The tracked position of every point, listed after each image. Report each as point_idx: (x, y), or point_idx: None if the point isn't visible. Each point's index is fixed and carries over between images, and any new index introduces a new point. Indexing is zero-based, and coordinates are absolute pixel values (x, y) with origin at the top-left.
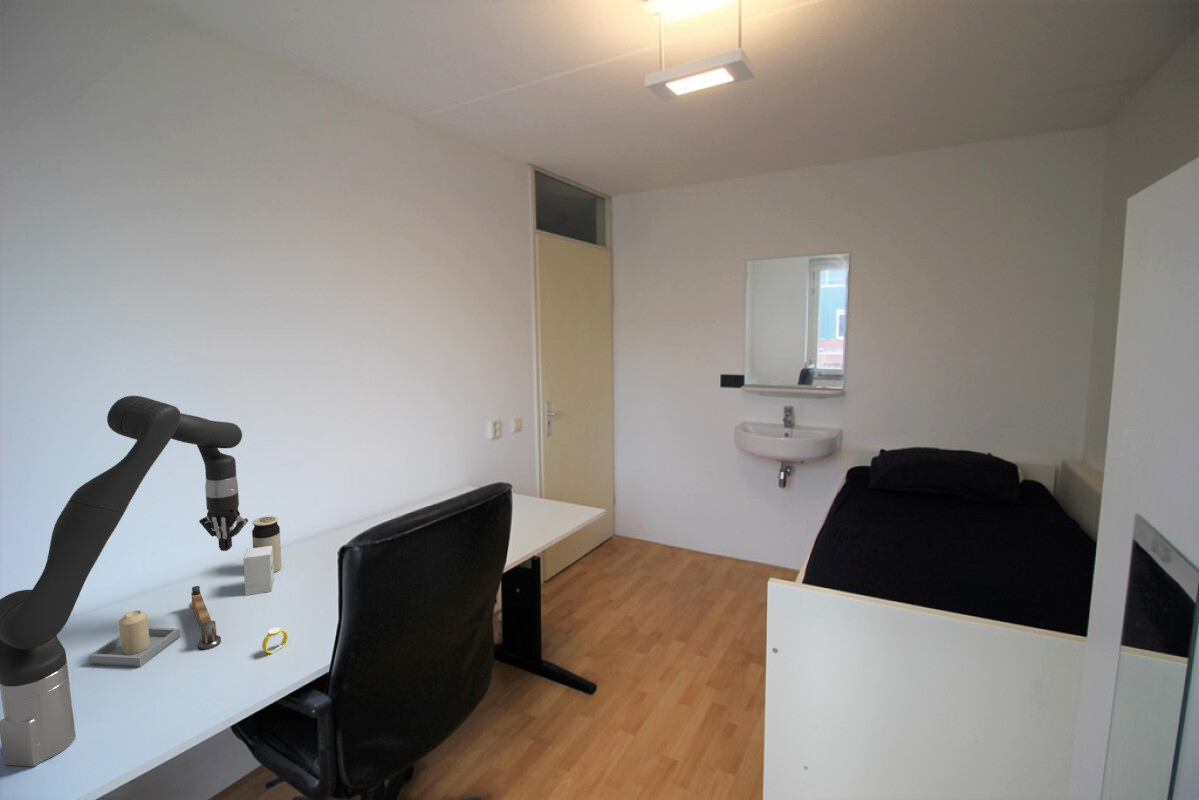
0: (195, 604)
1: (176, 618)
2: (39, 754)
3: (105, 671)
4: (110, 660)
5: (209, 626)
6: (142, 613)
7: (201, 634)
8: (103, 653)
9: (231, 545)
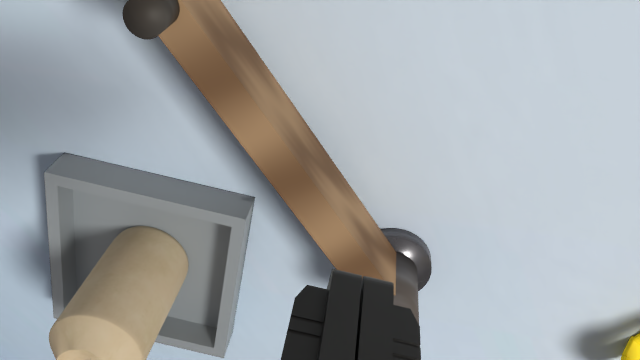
0: (231, 130)
1: (143, 47)
2: None
3: None
4: None
5: None
6: (117, 358)
7: None
8: (72, 278)
9: (415, 334)
